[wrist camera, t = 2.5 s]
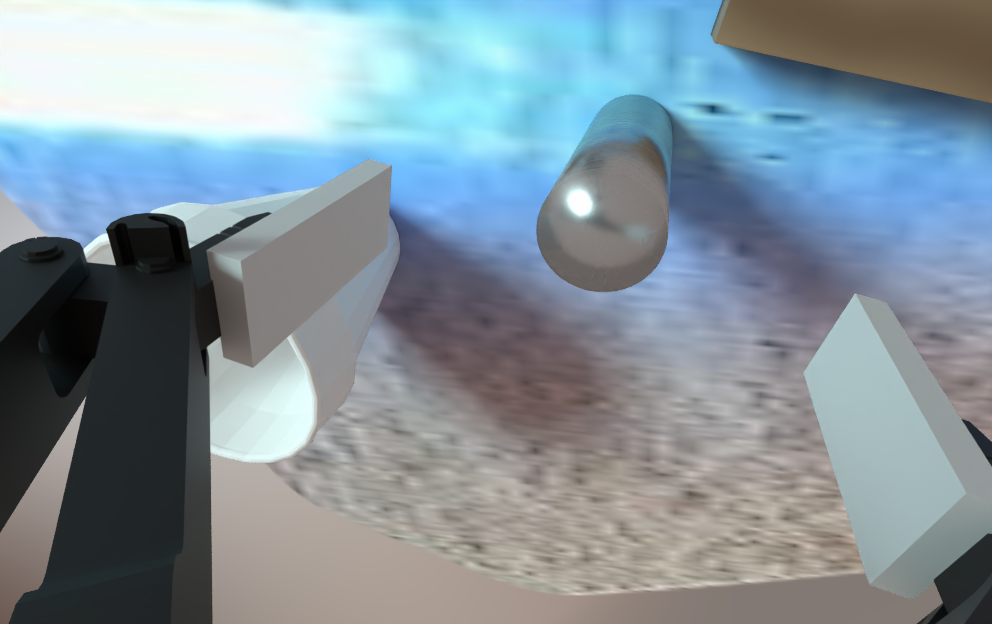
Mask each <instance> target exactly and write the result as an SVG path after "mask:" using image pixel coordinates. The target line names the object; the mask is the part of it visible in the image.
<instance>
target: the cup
mask: <svg viewBox="0 0 992 624" xmlns="http://www.w3.org/2000/svg"><path fill="white" fill-rule="evenodd" d="M316 188H318V187H316ZM316 188H310V189H304V190H298V191H292V192H287V193H281V194H275V195H269V196H263V197H257V198H251V199H245V200H239V201H233V202H227V203H221V204H216V205H207V204H196V203H184V202H180V203H177V204H173V205H169V206H165V207H161V208H157V209H155V210H153V211H151V212H149V213H160V214H167V215H171V216H175V217H177V218H179V219H181V220H182V221H183V222H184V224H185V226H186V231H187V237H188V242H189V248H191V247H193V246H195V245H197V244H199V243H201V242H202V241H204V240H206V239H208V238H210V237H212V236H214V235H215V234H220V232H221V231H223V230H225V229H227V228H228V227H232V226H233V225H234V224H236V223H238V222H239V221H241V220H243V219H245V218H247V217H250V216H254V215H258V214H262V213H266V212H270V213H274V212H275V211H277V210H279V209H281V208H282V207H284V206H286V205H288V204H289V203H291V202H293V201H295V200H297V199H298V198H300V197H302V196H304V195H305V194H307V193H309V192H311V191H313V190H314V189H316ZM83 250H84V254H85V257H86V260H87V262H90V263H99V264H109V265H116V264H115V260H114V256H113V253H112V249H111V245H110V242H109V238H108V234H103V235H100V236H99V237H97V238H96V239H95V240H94V241H93V242H92V243H90V244H89V245H88V246H87V247H86V248H85V249H83ZM399 255H400V240H399V234H398V231H397V229H396V226H395V224H394V221H393V220H392V218H391V217H390V215H389V225H388V242H387V248H386V249H385V250H384V251H383V252H382V253H381V254H379V255H378V256H377V257H376V258H375V259H374V260H373V261H372V262H371V263H369V264H368V265H367V266H366V267H365V268H364V269H363V270H362V271H361V272H359V273H358V274H357V275H356V276H355V277H354V278H353V279H352V280H351V281H349V282H348V283H347V284H346V285H345V286H344V287H343V288H342V289H341V290H339V291H338V292H337V293H336V294H335V295H334V296H333V297H332V298H331V299H329V300H328V301H327V302H326V303H325V304H324V305H323V306H322V307H321V308H319V309H318V310H317V311H316V312H315V313H314V314H313V315H312V316H311V317H309V318H308V319H307V320H306V321H305V322H304V323H303V324H302V325H301V326H299V327H298V328H297V329H296V330H295V331H294V332H293V333H292V334H291V335H289V336H288V337H287V338H286V339H285V340H284V341H283V342H282V343H281V344H279V345H278V346H277V347H276V348H275V349H274V350H273V351H272V352H271V353H269V354H268V355H267V356H266V357H265V358H264V359H263V360H262V361H261V362H259V363H258V364H257V365H256V366H255V367H254V368H252V367H249V366H246V365H243V364H240V363H237V362H235V361H232V360H229V359H226V358H223V352H222V345H221V339H220V337H219V338H218V339H217V340H215V341H214V342H213V343H211V344H210V345H209V346H208V347H207V349H208V354H209V376H210V452H211V453H214V454H216V455H218V456H221V457H225V458H230V459H234V460H239V461H243V462H248V463H249V462H250V463H274V462H277V461H280V460H284V459H287V458H291V457H294V456H296V455H297V454H298V453H299V452H301V451H302V450H303V449H304V448H305V447H307V446H308V445H309V444H310V443H312V442H313V439H314V437H315V435H316V433H317V431H318V430H319V429H320V428H321V427H322V426H323V425H324V424H325V423H326V422H327V421H328V420H329V418H330V417H331V416H332V415H333V414H334V413H335V412H336V411H337V410H338V409H339V408H340V407H341V406H342V404H343V403H344V402H345V400H346V398H347V396H348V394H349V392H350V390H351V388H352V386H353V384H354V377H355V366H356V359H357V357H358V355H359V352H360V350H361V348H362V345H363V343H364V341H365V338H366V336H367V333H368V331H369V329H370V326H371V324H372V322H373V319H374V317H375V315H376V312H377V310H378V307H379V305H380V303H381V300H382V298H383V296H384V293H385V291H386V289H387V286H388V284H389V281H390V279H391V277H392V274H393V272H394V270H395V267H396V265H397V263H398V260H399Z"/></svg>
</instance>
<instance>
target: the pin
mask: <svg viewBox="0 0 992 624" xmlns="http://www.w3.org/2000/svg"><path fill="white" fill-rule="evenodd" d="M672 141H673V129H672V124H671V120H670V118H669V116H668V114H667V112H666V111H665V109H664V108H663V107H662V106H661V105H660V104H659V103H657V102H656V101H654V100H653V99H651V98H649V97H646V96H642V95H625V96H621V97H618V98H616V99H614V100H612V101H610V102H609V103H607V104H606V105H605V106H604V107H602V108H601V110H600V111H599V112H598V113H597V115H596V116H595V118H594V119H593V121H592V123H591V125H590V126H589V128H588V130H587V131H586V133H585V135H584V136H583V138H582V140H581V141H580V143H579V145H578V146H577V148H576V150H575V151H574V153H573V155H572V156H571V158H570V160H569V161H568V163H567V165H566V166H565V168H564V170H563V171H562V173H561V175H560V176H559V178H558V180H557V181H556V183H555V185H554V186H553V188H552V190H551V191H550V193H549V195H548V197H547V198H546V200H545V202H544V203H543V205H542V207H541V210H540V212H539V216H538V220H537V241H538V245H539V249H540V251H541V254H542V256H543V258H544V259H545V261H546V263H547V264H548V265H549V267H550V268H551V269H552V270H553V271H554V272H555V273H556V274H557V275H558V276H559V277H561V278H562V279H563V280H565V281H566V282H568V283H570V284H572V285H574V286H576V287H579V288H582V289H585V290H589V291H596V292H611V291H618V290H622V289H625V288H628V287H631V286H633V285H635V284H637V283H639V282H640V281H642V280H643V279H645V278H646V277H647V276H648V275H649V274H650V273H651V272H652V271H653V270H654V269H655V268H656V267H657V265H658V264H659V262H660V260H661V258H662V256H663V254H664V252H665V248H666V245H667V239H668V222H669V202H670V181H671V161H672Z"/></svg>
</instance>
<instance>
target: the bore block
mask: <svg viewBox="0 0 992 624" xmlns="http://www.w3.org/2000/svg"><path fill="white" fill-rule="evenodd" d="M711 36H712V38H713V40H714V43H717V44H721V45H726V46H730V47H735V48H740V49H744V50H749V51H754V52H758V53H763V54H767V55H772V56H777V57H781V58H786V59H790V60H795V61H800V62H804V63H809V64H813V65H818V66H823V67H827V68H832V69H837V70H841V71H846V72H850V73H855V74H860V75H864V76H869V77H873V78H878V79H883V80H887V81H892V82H896V83H901V84H906V85H910V86H915V87H920V88H924V89H929V90H933V91H938V92H943V93H947V94H952V95H956V96H961V97H966V98H970V99H975V100H979V101H984V102H989V103H992V0H723V1H722V4H721V6H720V9H719V12H718V15H717V18H716V21H715V23H714V26H713V29H712V32H711Z"/></svg>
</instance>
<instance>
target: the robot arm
mask: <svg viewBox="0 0 992 624" xmlns="http://www.w3.org/2000/svg"><path fill="white" fill-rule="evenodd" d="M391 172H392V165H388V164H385V163H381V162H377V161H374V160H370V159H368V160H366V161H364V162H362V163H360V164H359V165H357V166H355V167H353V168H352V169H350V170H348V171H346V172H344V173H343V174H341V175H339V176H337V177H336V178H334V179H332V180H330V181H329V182H327V183H325V184H323V185H321V186H320V187H318V188H316V189H314V190H313V191H311V192H309V193H307V194H305V195H304V196H302V197H300V198H298V199H297V200H295V201H293V202H291V203H289V204H288V205H286V206H284V207H282V208H281V209H279V210H277V211H275V212H274V213H270V212H266V213H262V214H258V215H254V216H250V217H247V218H245V219H243V220H241V221H239V222H238V223H236V224H234V225H233V226H232V227H228V228H227V229H225V230H223V231H221V232H220V234H215V235H214V236H212V237H210V238H208V239H206V240H204V241H202V242H201V243H199V244H197V245H195V246H193V247H191V248H189V242H188V237H187V231H186V226H185V224H184V222H183V221H182V220H181V219H179V218H177V217H175V216H171V215H167V214H160V213H143V214H134V215H130V216H126V217H122V218H120V219H118V220H116V221H114V222H112V223H110V225H109V226H108V227H107V229H106V231H107V234H108V238H109V242H110V245H111V249H112V253H113V256H114V260H115V264H116V265H109V264H99V263H90V262H87V260H86V257H85V254H84V250H83V248H82V246H81V245H80V243H78V242H76V241H74V240H72V239H67V238H60V237H37V238H36V239H35V238H31V239H26V240H25V241H22V242H19V243H16V244H13V245H11V246H9V247H8V248H6V249H4V250H3V251H1V252H0V532H1V530H2V529H3V527H4V526H5V524H6V523H7V521H8V519H9V518H10V516H11V514H12V513H13V511H14V510H15V508H16V507H17V505H18V503H19V502H20V500H21V499H22V497H23V495H24V494H25V492H26V490H27V489H28V487H29V486H30V484H31V483H32V481H33V480H34V478H35V476H36V475H37V473H38V472H39V470H40V468H41V467H42V465H43V464H44V462H45V460H46V459H47V457H48V456H49V454H50V452H51V451H52V449H53V448H54V446H55V445H56V443H57V441H58V440H59V438H60V437H61V435H62V433H63V432H64V430H65V428H66V427H67V425H68V424H69V422H70V421H71V419H72V417H73V416H74V414H75V413H76V411H77V410H78V408H79V406H80V405H81V403H82V402H83V400H84V398H85V397H86V400H85V405H84V409H83V414H82V418H81V422H80V426H79V431H78V435H77V440H76V444H75V448H74V453H73V457H72V462H71V466H70V470H69V474H68V479H67V483H66V488H65V492H64V496H63V501H62V505H61V509H60V514H59V518H58V522H57V527H56V532H55V535H54V540H53V544H52V549H51V553H50V557H49V562H48V566H47V570H46V574H45V577H44V580H43V583H42V585H41V586H40V587H39V589H38V590H34V591H30V592H26V593H24V594H23V596H22V597H21V598H20V600H19V601H18V602H17V603H16V605H15V608H14V611H13V613H12V617H11V619H10V622H9V624H212V548H211V547H212V545H211V465H210V464H211V462H210V461H211V460H210V376H209V354H208V349H207V347H208V346H209V345H210V344H211V343H213V342H214V341H215V340H217V339H218V338H219V337H220V339H221V345H222V352H223V358H226V359H229V360H232V361H235V362H237V363H240V364H243V365H246V366H249V367H252V368H254V367H255V366H256V365H257V364H258V363H259V362H261V361H262V360H263V359H264V358H265V357H266V356H267V355H268V354H269V353H271V352H272V351H273V350H274V349H275V348H276V347H277V346H278V345H279V344H281V343H282V342H283V341H284V340H285V339H286V338H287V337H288V336H289V335H291V334H292V333H293V332H294V331H295V330H296V329H297V328H298V327H299V326H301V325H302V324H303V323H304V322H305V321H306V320H307V319H308V318H309V317H311V316H312V315H313V314H314V313H315V312H316V311H317V310H318V309H319V308H321V307H322V306H323V305H324V304H325V303H326V302H327V301H328V300H329V299H331V298H332V297H333V296H334V295H335V294H336V293H337V292H338V291H339V290H341V289H342V288H343V287H344V286H345V285H346V284H347V283H348V282H349V281H351V280H352V279H353V278H354V277H355V276H356V275H357V274H358V273H359V272H361V271H362V270H363V269H364V268H365V267H366V266H367V265H368V264H369V263H371V262H372V261H373V260H374V259H375V258H376V257H377V256H378V255H379V254H381V253H382V252H383V251H384V250H385V249H386V248H387V242H388V225H389V207H390V190H391ZM803 373H804V377H805V380H806V383H807V386H808V390H809V393H810V396H811V399H812V402H813V406H814V409H815V412H816V415H817V418H818V422H819V425H820V428H821V431H822V434H823V438H824V441H825V444H826V447H827V450H828V454H829V457H830V460H831V463H832V467H833V470H834V473H835V476H836V479H837V483H838V486H839V489H840V492H841V495H842V499H843V502H844V505H845V508H846V511H847V515H848V518H849V521H850V524H851V528H852V531H853V534H854V537H855V540H856V544H857V547H858V550H859V553H860V556H861V560H862V563H863V566H864V569H865V572H866V576H867V579H868V582H869V585H871V586H874V587H877V588H880V589H882V590H885V591H888V592H891V593H894V594H897V595H900V596H903V597H905V598H908V599H911V600H914V599H915V598H916V597H917V596H918V595H920V594H921V593H922V592H923V591H924V590H926V588H928V587H929V586H930V585H931V584H932V583H934V582H935V584H936V587H937V589H938V592H939V594H940V596H941V599H942V601H943V603H942V604H941V605H940V606H939V607H937V608H936V609H935V610H934V611H932V612H931V613H930V614H929V615H927V616H926V617H925V618H924V619H922V620H921V621H920V622H919V623H917V624H992V442H991V441H990V440H989V439H988V438H987V437H986V436H985V435H984V434H982V433H981V432H980V431H979V430H978V429H977V428H976V427H975V426H974V425H973V424H972V423H970V422H969V421H966V420H963V419H961V418H960V416H959V415H958V413H957V412H956V410H955V409H954V407H953V406H952V404H951V402H950V401H949V399H948V398H947V396H946V395H945V393H944V391H943V390H942V388H941V387H940V385H939V384H938V382H937V381H936V379H935V377H934V376H933V374H932V373H931V371H930V370H929V368H928V366H927V365H926V363H925V362H924V360H923V359H922V357H921V356H920V354H919V352H918V351H917V349H916V348H915V346H914V345H913V343H912V341H911V340H910V338H909V337H908V335H907V334H906V332H905V331H904V329H903V327H902V326H901V324H900V323H899V321H898V320H897V318H896V316H895V315H894V313H893V312H892V310H891V309H890V307H889V306H888V304H887V302H885V301H881V300H878V299H874V298H870V297H867V296H863V295H860V294H856V293H855V294H854V296H853V297H852V299H851V300H850V302H849V303H848V305H847V306H846V308H845V309H844V311H843V313H842V314H841V316H840V317H839V319H838V320H837V322H836V323H835V325H834V326H833V328H832V329H831V331H830V333H829V334H828V336H827V337H826V339H825V340H824V342H823V343H822V345H821V346H820V348H819V349H818V351H817V352H816V354H815V356H814V357H813V359H812V360H811V362H810V363H809V365H808V366H807V368H806V369H805V371H804V372H803ZM86 395H87V396H86Z"/></svg>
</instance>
